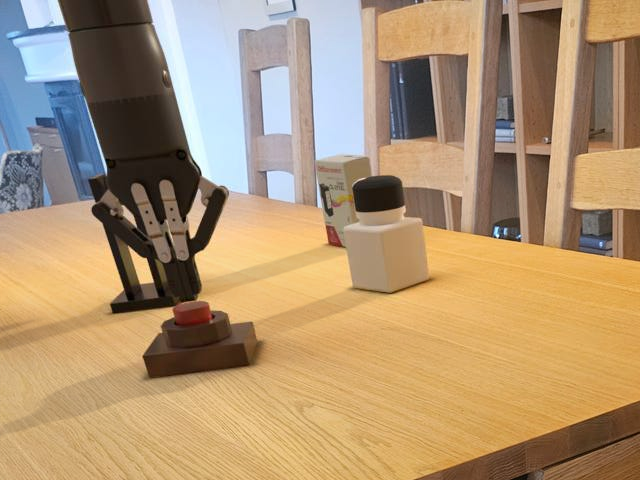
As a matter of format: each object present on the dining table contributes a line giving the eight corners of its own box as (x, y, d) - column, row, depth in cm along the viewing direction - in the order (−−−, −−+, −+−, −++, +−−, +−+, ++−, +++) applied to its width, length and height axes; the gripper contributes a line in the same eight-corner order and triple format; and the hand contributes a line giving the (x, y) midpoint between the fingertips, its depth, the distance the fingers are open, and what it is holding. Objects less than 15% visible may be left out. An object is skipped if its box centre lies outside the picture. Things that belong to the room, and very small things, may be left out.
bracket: (130, 294, 114) (91, 173, 106) (188, 287, 115) (153, 165, 106) (112, 313, 106) (68, 183, 98) (175, 305, 107) (136, 175, 98)
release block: (149, 377, 82) (135, 337, 80) (164, 353, 89) (152, 315, 87) (249, 365, 83) (238, 324, 80) (257, 342, 89) (248, 303, 87)
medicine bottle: (430, 279, 105) (417, 172, 98) (389, 293, 101) (373, 183, 94) (392, 274, 109) (377, 171, 102) (351, 288, 105) (333, 181, 98)
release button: (174, 330, 82) (168, 312, 81) (180, 321, 85) (175, 303, 84) (210, 326, 82) (205, 308, 81) (215, 316, 85) (211, 299, 84)
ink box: (327, 244, 131) (311, 159, 124) (353, 238, 133) (339, 154, 126) (356, 249, 125) (341, 160, 118) (383, 243, 128) (370, 155, 121)
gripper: (212, 82, 75) (259, 283, 86) (66, 99, 75) (131, 299, 85) (198, 85, 69) (251, 300, 80) (39, 104, 69) (113, 318, 79)
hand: (189, 299), depth 82 cm, fingers closed
